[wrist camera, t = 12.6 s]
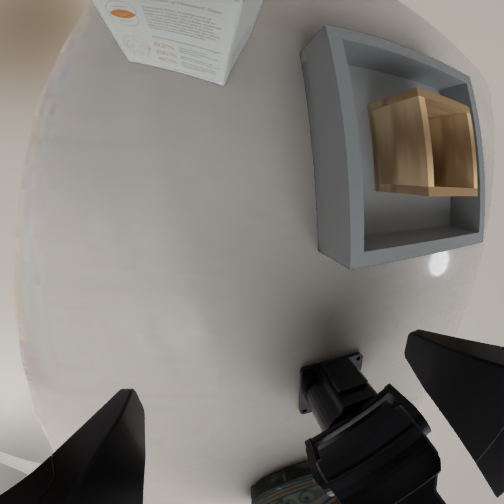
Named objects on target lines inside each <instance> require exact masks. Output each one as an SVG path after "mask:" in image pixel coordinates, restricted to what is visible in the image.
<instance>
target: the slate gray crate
mask: <svg viewBox="0 0 504 504" xmlns="http://www.w3.org/2000/svg"><path fill="white" fill-rule="evenodd" d="M300 58H301V64H302V70H303V76H304V83H305V90H306V97H307V105H308V113H309V122H310V131H311V140H312V150H313V162H314V174H315V188H316V204H317V225H318V251H319V252H321V253H323V254H324V255H326V256H328V257H329V258H331V259H333V260H334V261H336V262H338V263H340V264H341V265H343V266H345V267H346V268H348V269H350V270H352V269H358V268H363V267H368V266H374V265H379V264H384V263H389V262H394V261H399V260H404V259H409V258H414V257H419V256H423V255H428V254H433V253H437V252H442V251H446V250H451V249H455V248H460V247H464V246H468V245H473V244H477V243H481V242H483V234H484V217H485V176H484V159H483V148H482V139H481V132H480V125H479V119H478V113H477V108H476V103H475V98H474V93H473V89H472V85H471V81H470V77H469V76H467V75H465V74H463V73H461V72H460V71H458V70H456V69H454V68H452V67H450V66H448V65H446V64H444V63H442V62H440V61H438V60H436V59H433V58H431V57H429V56H427V55H424V54H422V53H420V52H417V51H415V50H412V49H410V48H407V47H404V46H402V45H399V44H396V43H393V42H390V41H387V40H384V39H381V38H378V37H374V36H371V35H368V34H364V33H360V32H356V31H352V30H348V29H344V28H339V27H335V26H330V25H325V26H324V27H323V28H322V29H321V30H320V31H319V32H318V33H317V34H316V36H315V37H314V38H313V39H312V40H311V41H310V42H309V44H308V45H307V46H306V47H305V48H304V49H303V51H302V52H301V53H300ZM415 87H418V88H421V89H424V90H427V91H430V92H433V93H436V94H439V95H441V96H444V97H447V98H449V99H452V100H454V101H457V102H459V103H461V104H464V105H466V106H468V107H469V109H470V114H471V120H472V127H473V134H474V142H475V151H476V163H477V182H478V196H430V197H428V196H420V195H411V194H401V193H391V192H379V191H375V176H374V162H373V150H372V141H371V132H370V124H369V116H368V110H367V105H369V104H372V103H374V102H377V101H379V100H382V99H385V98H387V97H390V96H393V95H395V94H398V93H401V92H404V91H406V90H409V89H412V88H415Z"/></svg>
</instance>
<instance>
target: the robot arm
mask: <svg viewBox="0 0 504 504" xmlns="http://www.w3.org/2000/svg"><path fill="white" fill-rule="evenodd" d="M357 357H358V358H357ZM362 358H363V356H362V354H361V353H360V352H357V353H354V354H350V355H347V356H344V357H340V358H337V359H333V360H330V361H326V362H322V363H318V364H314V365H310V366H306V367H303V368H302V369H301V370H300V398H299V411H300V413H301V414H306V413H309V412H313V414H314V416H315V418H316V420H317V422H318V424H319V426H320V428H321V430H322V431H323V432H322V433H320V434H318V435H317V436H315V437H313V438H312V439H311V438H310V439H308V440H306V441H305V444H306V452H307V456H308V460H309V464H310V468H311V472H312V476H313V483H314V485H315V486H316V487H319V488H322V489H323V491H324V492H325V493H326V494H328V495H329V496H331V497H334V496H336V497H337V499H338V500H339V501H340V503H341V504H446V503H445V502H444V501H443V499H442V498H441V497H440V495H439V494H438V492H437V491H436V486H437V476H438V473H439V472H440V471H441V462H440V457H439V456H438V452H437V450H436V449H435V448H434V446H433V445H432V443H431V442H430V441H429V439H428V438H427V437H426V435H427V434H428V433H429V432H431V429H430V426H429V425H428V423H427V421H426V420H425V419H424V417H423V416H422V415H421V413H420V412H419V411H418V410H417V408H416V407H415V406H414V405H413V404H412V403H411V402H409V401H408V400H407V399H406V398H405V397H404V396H403V395H402V394H401V393H399V392H398V391H397V390H396V389H395V388H394V387H393V386H392V385H391V384H388V385H387V386H385V387H384V389H383V390H382V391H381V392H379V393H378V394H377V393H376V391H375V390H374V389H373V388H372V387H371V385H370V384H369V383H368V380H367V379H366V378H365V376H364V375H363V374H362V373H361V372H360V370H361V365H362ZM405 358H406V359H407V361H408V363H409V364H410V366H411V368H412V369H413V371H414V373H415V374H416V376H417V378H418V379H419V381H420V383H421V384H422V386H423V387H424V389H425V390H426V392H427V393H428V395H429V396H430V397H431V399H432V400H433V401H434V403H435V404H436V405H437V407H438V408H439V410H440V411H441V412H442V414H443V415H444V416H445V418H446V419H447V420H448V422H449V424H450V425H451V427H452V428H453V429H454V431H455V432H456V434H457V435H458V437H459V438H460V440H461V441H462V443H463V444H464V446H465V447H466V449H467V450H468V452H469V453H470V455H471V456H472V458H473V459H474V461H475V462H476V464H477V466H478V467H479V469H480V471H481V472H482V474H483V476H484V477H485V479H486V481H487V482H488V484H489V486H490V487H491V489H492V490H493V492H494V494H495V496H496V497H499V496H500V495H501V494H502V493H504V347H500V346H496V345H490V344H485V343H480V342H475V341H470V340H465V339H460V338H455V337H451V336H446V335H442V334H437V333H433V332H428V331H424V330H416V331H413V332H411V333H410V334H409V335H408V339H407V343H406V348H405ZM306 371H307V372H306ZM305 372H306V373H305ZM144 469H145V414H144V409H143V406H142V404H141V402H140V400H139V398H138V395H137V393H136V391H135V390H134V389H121V390H120V391H118V392H117V393H116V394H115V395H114V396H113V397H112V398H111V399H110V400H109V401H108V402H107V403H106V404H105V405H104V406H103V407H102V408H101V409H100V410H99V411H97V412H96V413H95V414H94V415H93V416H92V417H91V418H90V419H89V420H88V421H87V422H86V423H85V424H84V425H83V426H82V427H81V428H80V429H79V430H77V431H76V432H75V433H74V434H73V435H72V436H71V437H70V438H69V439H68V440H67V441H66V442H65V443H64V444H63V445H62V446H61V447H59V448H58V449H57V450H56V451H55V452H54V453H53V454H52V456H50V457H49V458H48V459H47V460H46V461H44V462H43V463H42V464H41V465H40V466H39V467H38V468H37V469H35V470H34V471H33V472H32V473H31V474H29V475H28V476H27V477H25V478H24V479H23V480H21V481H20V482H19V483H17V484H16V485H14V486H13V487H11V488H10V489H9V490H7V491H6V492H4V493H3V494H1V495H0V504H143V485H144Z"/></svg>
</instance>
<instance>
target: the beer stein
mask: <svg viewBox="0 0 504 504" xmlns="http://www.w3.org/2000/svg"><path fill="white" fill-rule="evenodd" d="M251 498H252V504H341V503H340V501H339V500H338V499H337V497H336V496H334V497H331V496H329V495H328V494H326V493H325V492H324V491H323V489H322V488H319V487H316V486H315V485H314V483H313V476H312V472H311V468H310V464H309V461H305V462H302V463H299V464H296V465H293V466H289V467H286V468H283V469H281V470H279V471H277V472H275V473H273V474H270V475H268V476H266V477H264V478H263V479H261V480H260V481H259V482H257V483H256V484H255V485H253V486H252V487H251Z"/></svg>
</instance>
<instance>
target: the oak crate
mask: <svg viewBox="0 0 504 504" xmlns="http://www.w3.org/2000/svg"><path fill="white" fill-rule="evenodd" d="M367 110H368V116H369V124H370V132H371V141H372V150H373V162H374V176H375V191H379V192H391V193H401V194H411V195H420V196H428V197H430V196H478V182H477V163H476V151H475V142H474V134H473V127H472V120H471V114H470V109H469V107H468V106H466V105H464V104H461V103H459V102H457V101H454V100H452V99H449V98H447V97H444V96H441V95H439V94H436V93H433V92H430V91H427V90H424V89H421V88H418V87H415V88H412V89H409V90H406V91H404V92H401V93H398V94H395V95H393V96H390V97H387V98H385V99H382V100H379V101H377V102H374V103H372V104H369V105H367Z"/></svg>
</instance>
